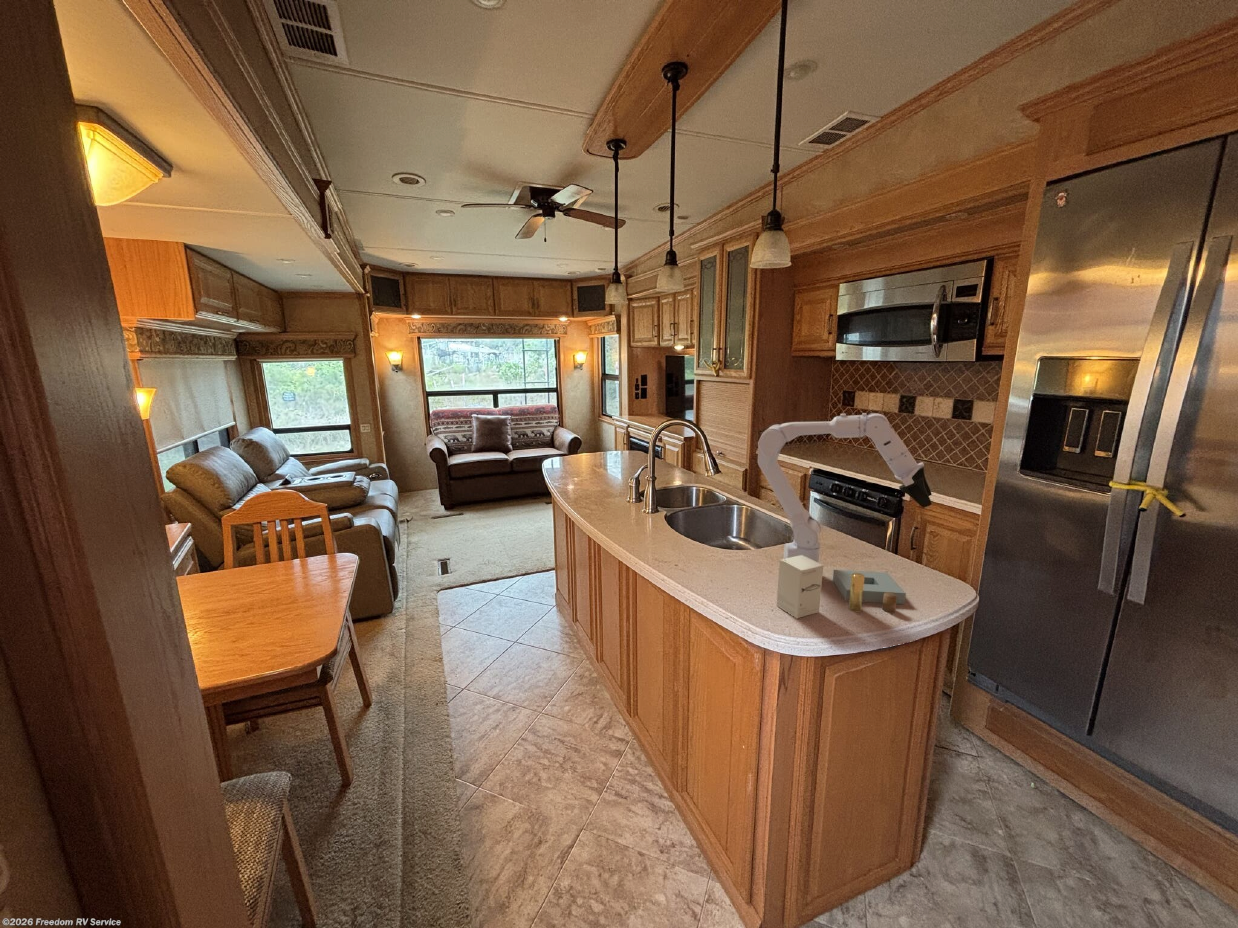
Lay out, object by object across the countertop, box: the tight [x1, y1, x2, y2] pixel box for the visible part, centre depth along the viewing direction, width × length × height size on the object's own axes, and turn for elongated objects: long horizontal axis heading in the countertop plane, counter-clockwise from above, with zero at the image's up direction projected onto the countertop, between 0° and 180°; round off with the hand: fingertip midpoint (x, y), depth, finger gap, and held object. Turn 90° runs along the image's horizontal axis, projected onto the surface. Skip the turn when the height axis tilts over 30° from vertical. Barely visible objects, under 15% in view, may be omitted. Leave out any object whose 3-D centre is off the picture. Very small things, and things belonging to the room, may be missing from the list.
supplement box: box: [776, 555, 824, 619], centre depth 119 cm, size 7×7×13 cm
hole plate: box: [832, 569, 907, 605], centre depth 129 cm, size 14×12×3 cm
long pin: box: [848, 573, 865, 613], centre depth 119 cm, size 3×3×9 cm
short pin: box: [881, 592, 897, 614], centre depth 119 cm, size 3×3×4 cm
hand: (927, 501), depth 122 cm, fingers open, 7 cm apart
